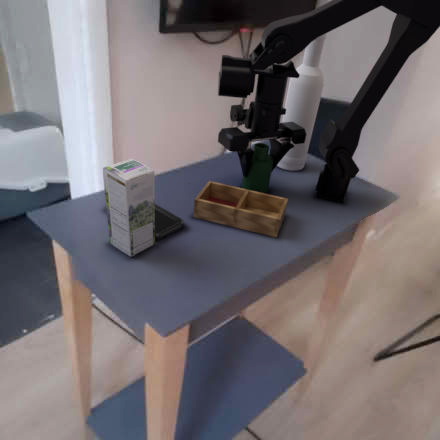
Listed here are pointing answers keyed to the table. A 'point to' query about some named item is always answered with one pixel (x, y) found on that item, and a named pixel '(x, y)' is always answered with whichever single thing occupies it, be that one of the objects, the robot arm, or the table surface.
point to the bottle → (304, 102)
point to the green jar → (259, 170)
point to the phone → (166, 223)
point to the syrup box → (130, 206)
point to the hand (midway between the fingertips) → (257, 174)
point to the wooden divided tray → (240, 208)
